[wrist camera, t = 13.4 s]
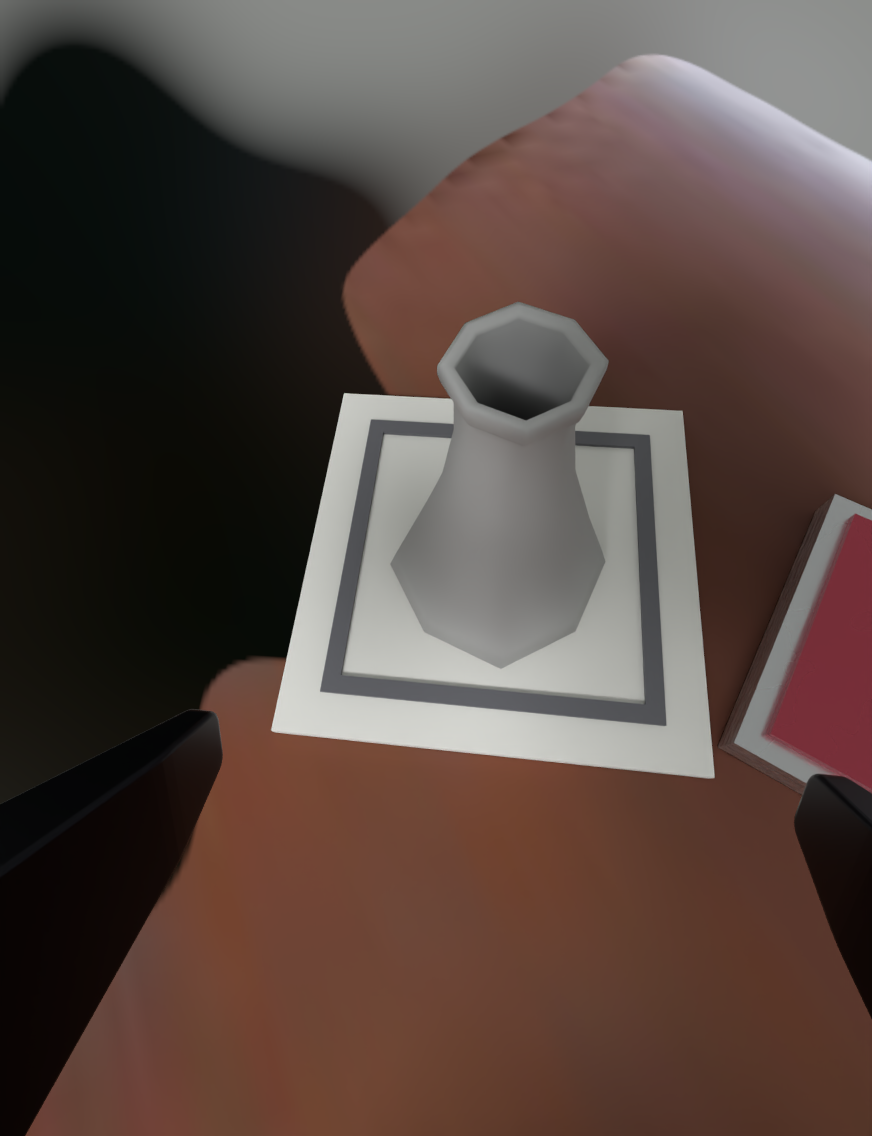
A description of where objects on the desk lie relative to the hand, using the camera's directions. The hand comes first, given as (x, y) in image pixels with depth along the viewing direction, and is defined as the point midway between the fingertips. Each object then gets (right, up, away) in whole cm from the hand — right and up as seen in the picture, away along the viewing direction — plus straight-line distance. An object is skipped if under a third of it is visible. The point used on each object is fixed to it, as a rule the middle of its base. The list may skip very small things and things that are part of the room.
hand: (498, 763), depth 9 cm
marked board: (+1, +3, +12) cm, 13 cm away
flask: (+1, +3, +12) cm, 12 cm away
